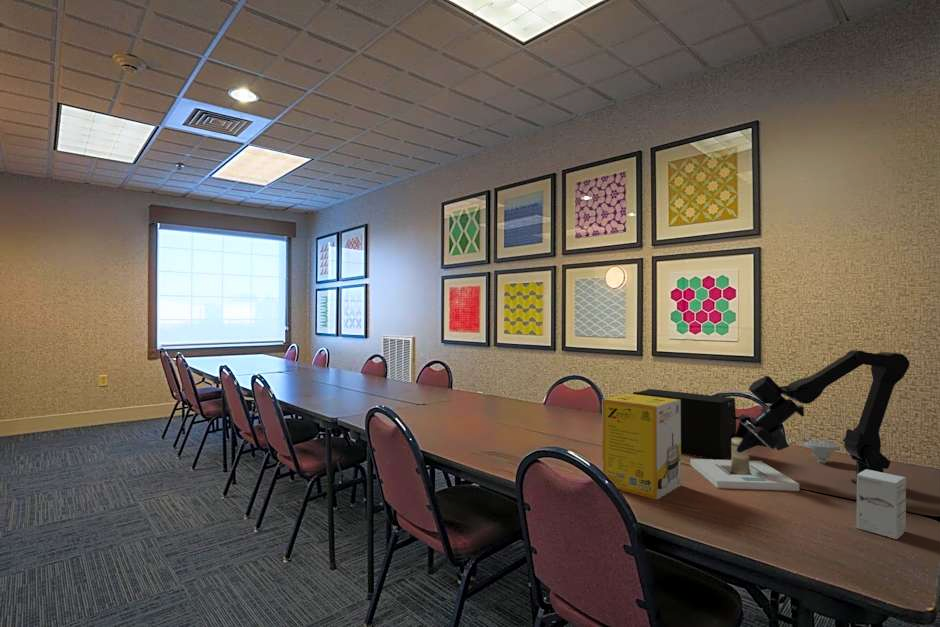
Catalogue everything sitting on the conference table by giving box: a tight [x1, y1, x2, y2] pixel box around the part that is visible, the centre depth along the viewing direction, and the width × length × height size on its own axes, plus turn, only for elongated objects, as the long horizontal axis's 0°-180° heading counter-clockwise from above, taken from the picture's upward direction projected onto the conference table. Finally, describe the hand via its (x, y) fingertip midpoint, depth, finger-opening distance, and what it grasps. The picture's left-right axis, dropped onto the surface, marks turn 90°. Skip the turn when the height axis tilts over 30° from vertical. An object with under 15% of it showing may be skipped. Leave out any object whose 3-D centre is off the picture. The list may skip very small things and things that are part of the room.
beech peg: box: [730, 437, 750, 475], centre depth 147 cm, size 5×5×10 cm
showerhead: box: [802, 438, 840, 464], centre depth 162 cm, size 9×7×10 cm
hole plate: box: [689, 458, 800, 492], centre depth 147 cm, size 22×22×2 cm
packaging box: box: [601, 393, 682, 501], centre depth 139 cm, size 16×16×25 cm
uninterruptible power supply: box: [632, 388, 739, 460], centre depth 179 cm, size 16×34×20 cm, turn 44°
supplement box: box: [856, 469, 907, 540], centre depth 109 cm, size 7×7×13 cm
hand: (735, 448), depth 147 cm, fingers closed on beech peg, 5 cm apart
